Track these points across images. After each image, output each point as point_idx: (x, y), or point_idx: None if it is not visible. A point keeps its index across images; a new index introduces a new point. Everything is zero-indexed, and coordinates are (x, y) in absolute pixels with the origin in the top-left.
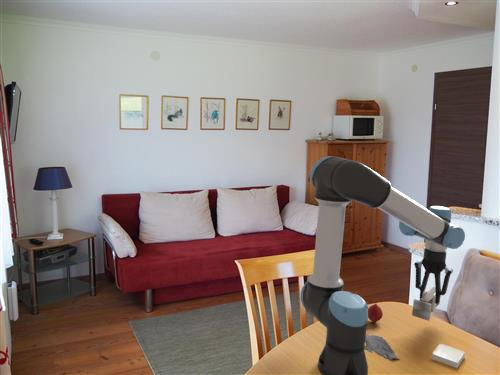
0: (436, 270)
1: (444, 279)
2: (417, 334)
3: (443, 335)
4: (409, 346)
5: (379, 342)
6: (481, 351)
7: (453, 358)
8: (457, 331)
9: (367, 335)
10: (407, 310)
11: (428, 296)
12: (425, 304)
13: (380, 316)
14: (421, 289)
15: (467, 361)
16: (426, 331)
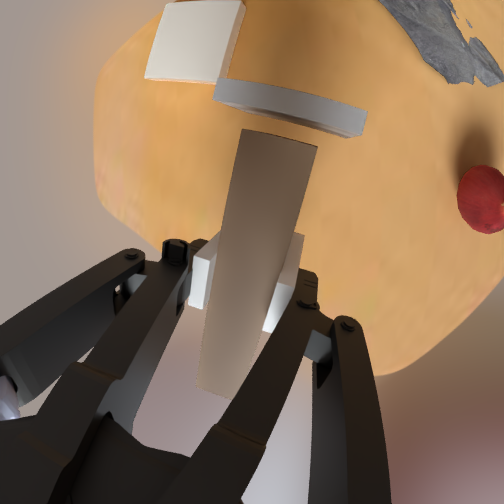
0: (31, 442)
1: (35, 326)
2: None
3: (218, 199)
4: (328, 45)
5: (425, 26)
6: (117, 152)
7: (176, 16)
8: None
9: (469, 70)
10: None
11: (250, 254)
12: (262, 86)
13: (467, 176)
14: (308, 302)
15: (147, 63)
16: None
